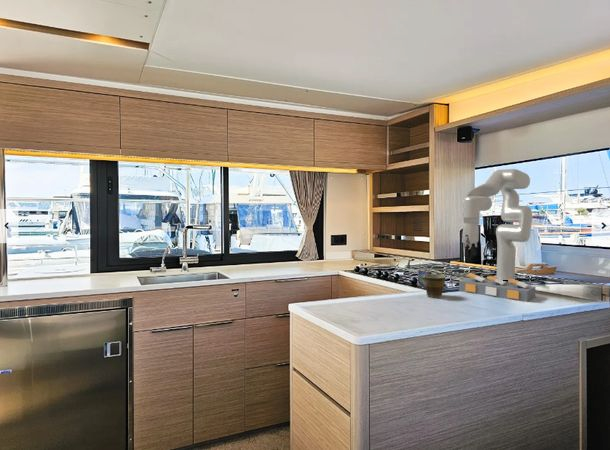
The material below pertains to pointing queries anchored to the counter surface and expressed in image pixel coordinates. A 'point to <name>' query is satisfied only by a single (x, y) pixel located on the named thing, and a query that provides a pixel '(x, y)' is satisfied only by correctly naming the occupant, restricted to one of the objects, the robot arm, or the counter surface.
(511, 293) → the switch box
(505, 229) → the robot arm
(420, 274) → the flask
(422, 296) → the counter surface
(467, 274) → the switch
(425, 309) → the counter surface
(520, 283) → the switch
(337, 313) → the counter surface
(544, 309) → the counter surface
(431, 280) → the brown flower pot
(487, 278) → the switch
